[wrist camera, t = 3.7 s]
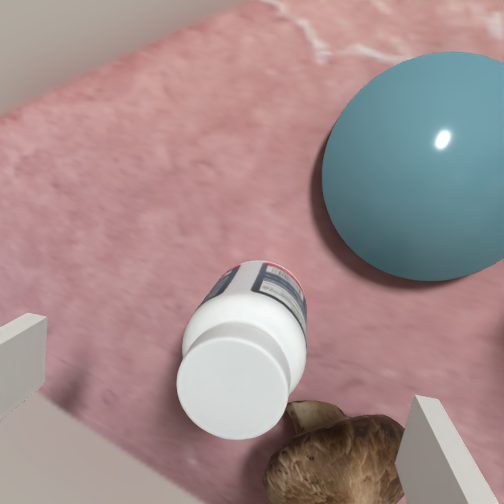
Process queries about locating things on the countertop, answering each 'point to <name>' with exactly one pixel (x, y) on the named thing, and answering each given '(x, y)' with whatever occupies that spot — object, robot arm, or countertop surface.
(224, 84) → the countertop surface
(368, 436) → the mushroom
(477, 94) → the dish
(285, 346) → the pill bottle
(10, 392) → the robot arm
